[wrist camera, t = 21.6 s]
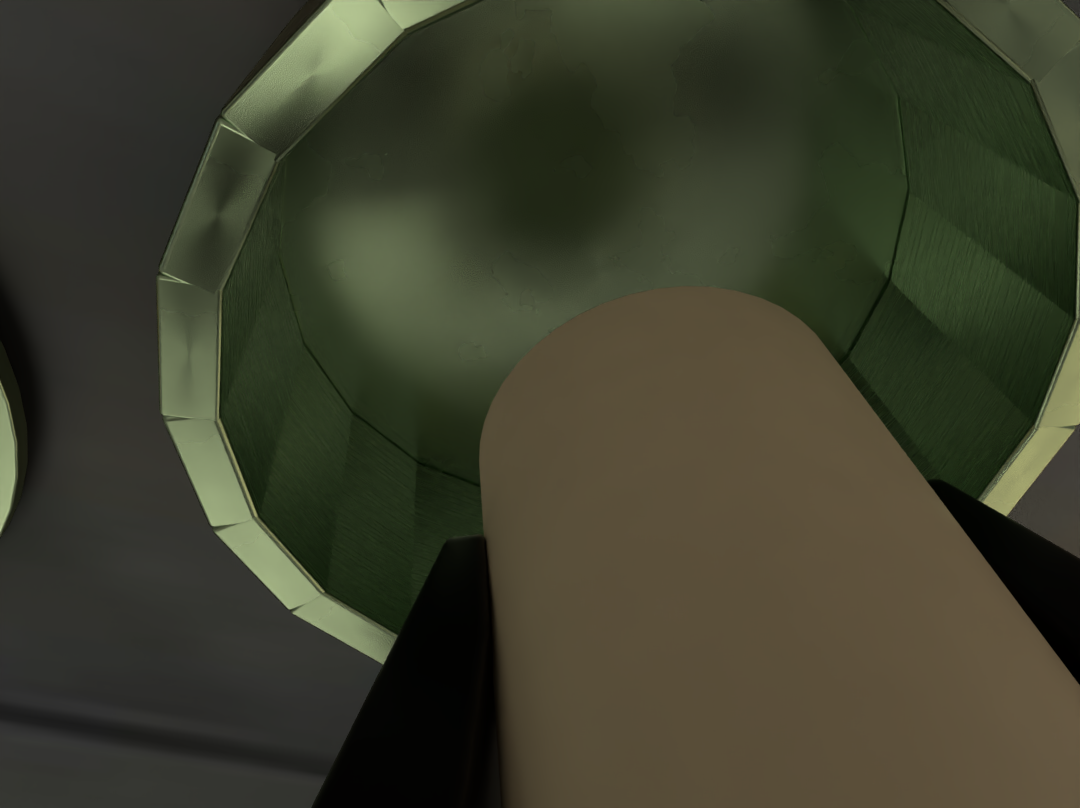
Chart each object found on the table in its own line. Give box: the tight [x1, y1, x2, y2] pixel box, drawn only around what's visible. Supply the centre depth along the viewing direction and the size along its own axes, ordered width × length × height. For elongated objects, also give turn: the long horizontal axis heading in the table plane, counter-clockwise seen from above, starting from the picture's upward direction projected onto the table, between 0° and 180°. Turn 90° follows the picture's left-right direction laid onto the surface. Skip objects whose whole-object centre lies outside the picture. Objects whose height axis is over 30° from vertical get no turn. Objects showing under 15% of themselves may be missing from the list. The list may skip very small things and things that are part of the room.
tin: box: [156, 0, 1080, 665], centre depth 12 cm, size 12×12×5 cm
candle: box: [479, 286, 1080, 808], centre depth 7 cm, size 5×5×7 cm
